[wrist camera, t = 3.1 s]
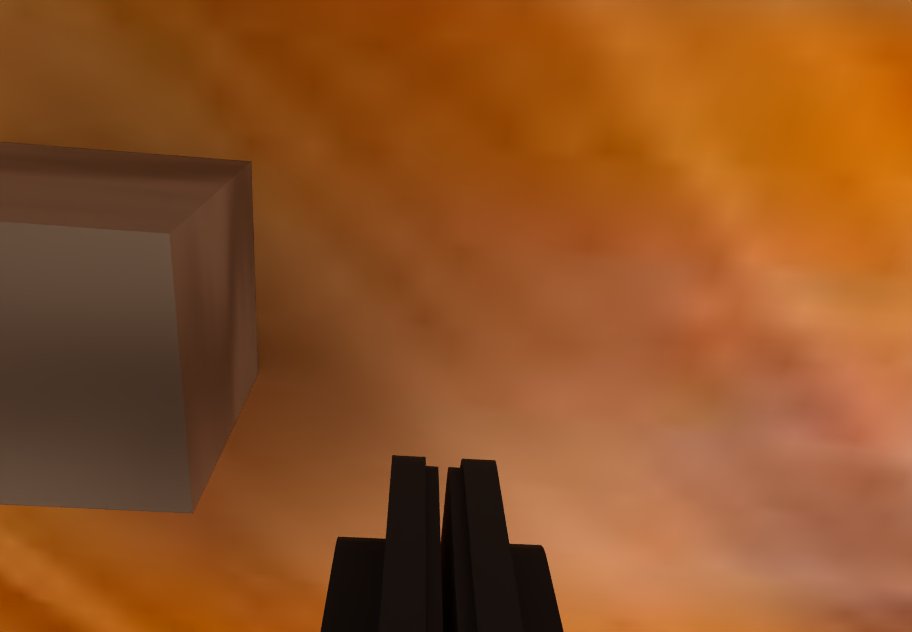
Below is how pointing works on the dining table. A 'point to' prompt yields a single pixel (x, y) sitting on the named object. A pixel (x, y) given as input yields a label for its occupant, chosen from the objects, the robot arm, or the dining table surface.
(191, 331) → the block
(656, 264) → the dining table surface
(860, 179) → the dining table surface
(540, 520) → the dining table surface
